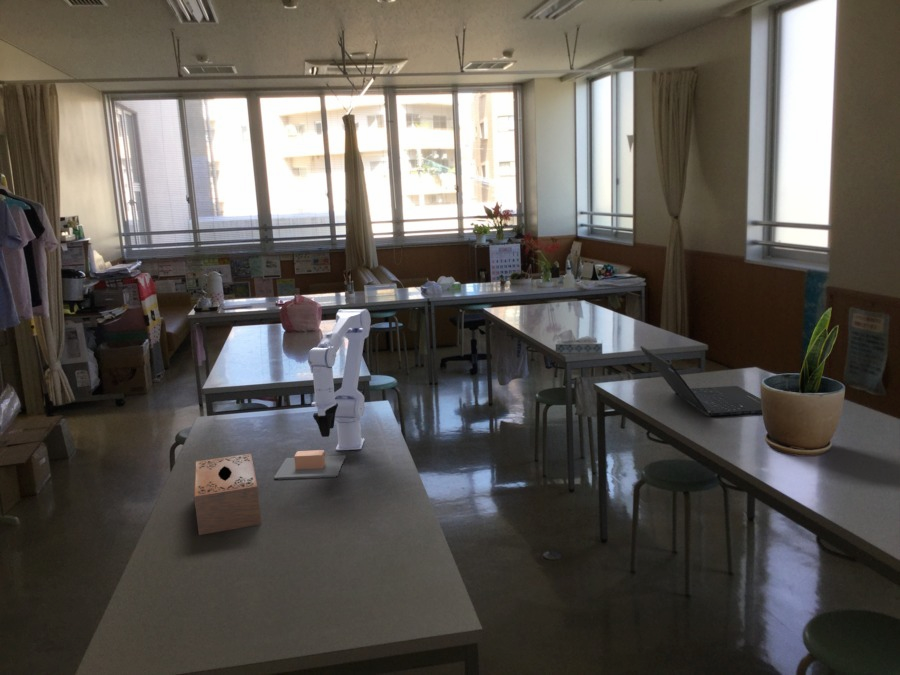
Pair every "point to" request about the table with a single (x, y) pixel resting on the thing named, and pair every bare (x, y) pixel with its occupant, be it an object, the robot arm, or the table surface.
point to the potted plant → (804, 400)
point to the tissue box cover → (226, 494)
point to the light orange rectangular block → (309, 459)
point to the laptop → (708, 393)
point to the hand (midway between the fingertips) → (327, 432)
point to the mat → (328, 470)
